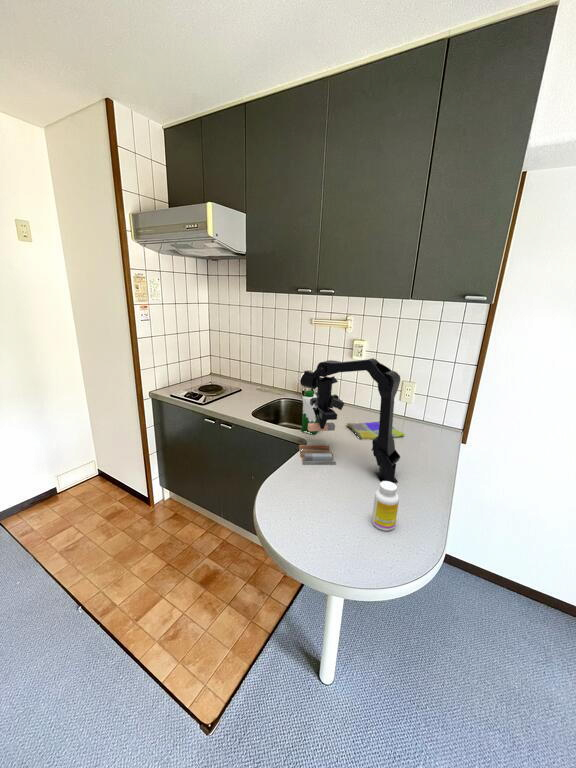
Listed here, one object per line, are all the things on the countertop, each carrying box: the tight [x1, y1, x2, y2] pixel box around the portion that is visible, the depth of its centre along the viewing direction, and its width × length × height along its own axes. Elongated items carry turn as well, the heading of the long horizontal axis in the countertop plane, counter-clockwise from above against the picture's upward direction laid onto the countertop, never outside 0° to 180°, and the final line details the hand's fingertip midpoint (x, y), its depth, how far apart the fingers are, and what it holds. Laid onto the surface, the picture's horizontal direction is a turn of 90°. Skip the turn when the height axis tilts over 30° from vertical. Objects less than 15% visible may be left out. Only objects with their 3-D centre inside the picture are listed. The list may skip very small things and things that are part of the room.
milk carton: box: [301, 390, 319, 435], centre depth 152 cm, size 9×9×20 cm
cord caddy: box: [298, 444, 337, 466], centre depth 129 cm, size 15×13×2 cm
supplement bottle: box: [371, 481, 400, 532], centre depth 91 cm, size 7×7×13 cm
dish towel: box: [345, 421, 405, 440], centre depth 157 cm, size 18×24×3 cm
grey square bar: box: [304, 453, 334, 461], centre depth 125 cm, size 11×2×2 cm, turn 94°
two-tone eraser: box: [308, 422, 336, 432], centre depth 130 cm, size 11×2×2 cm, turn 101°
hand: (321, 427), depth 130 cm, fingers closed on two-tone eraser, 2 cm apart
